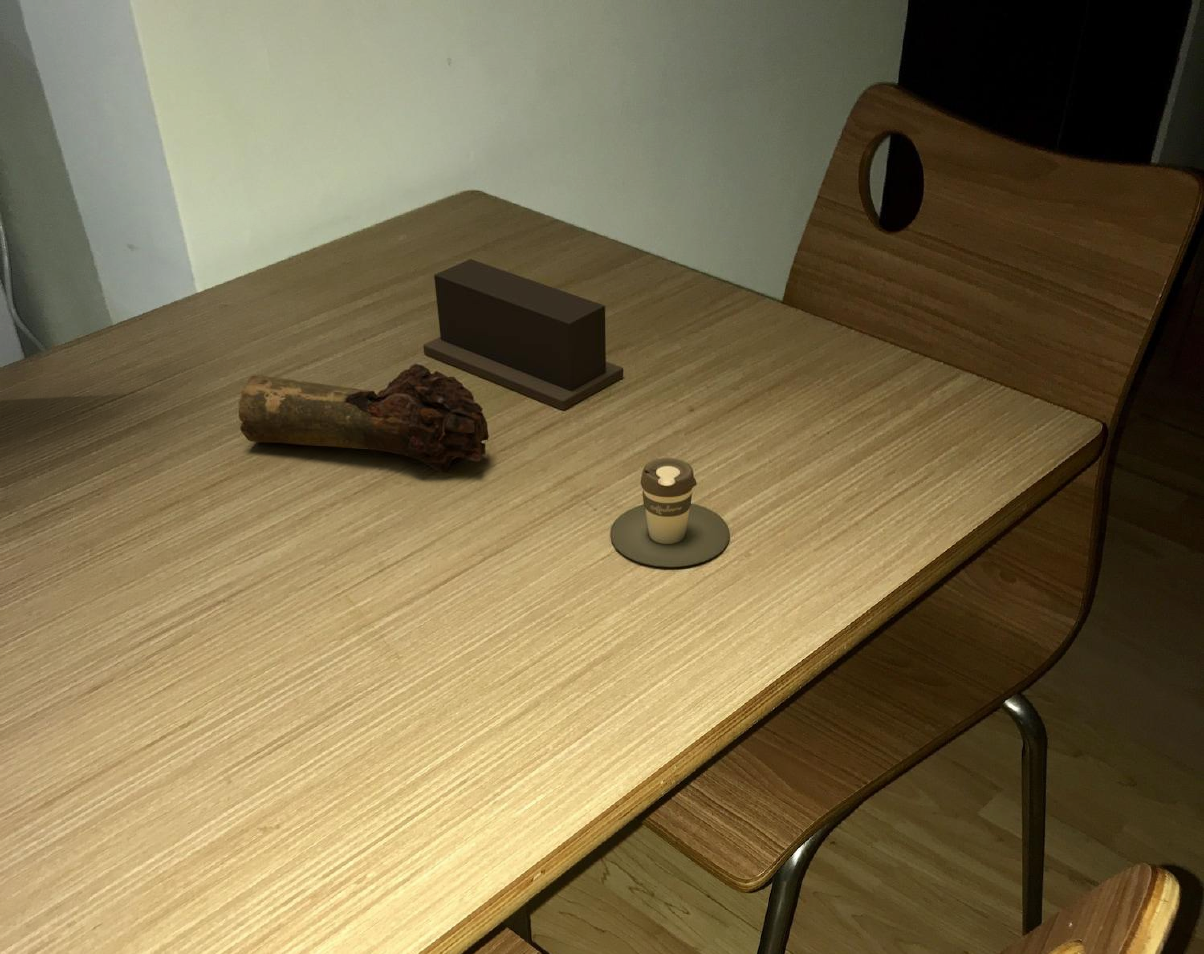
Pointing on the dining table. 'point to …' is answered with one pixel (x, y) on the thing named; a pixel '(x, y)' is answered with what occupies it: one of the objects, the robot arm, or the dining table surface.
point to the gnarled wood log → (369, 416)
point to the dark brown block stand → (521, 334)
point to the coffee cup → (669, 521)
